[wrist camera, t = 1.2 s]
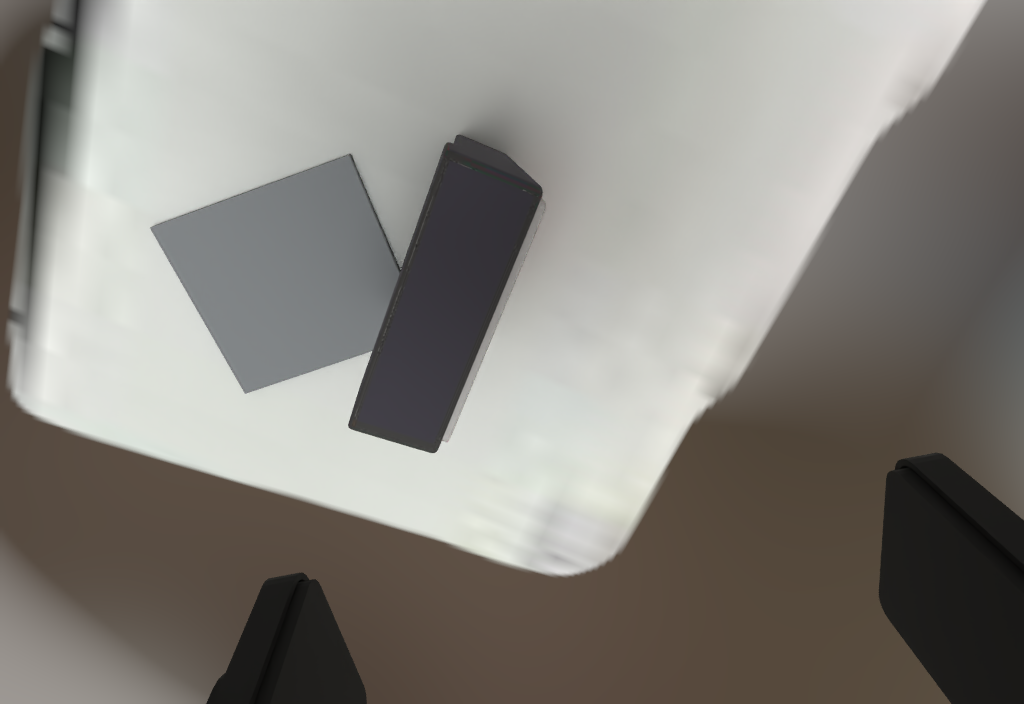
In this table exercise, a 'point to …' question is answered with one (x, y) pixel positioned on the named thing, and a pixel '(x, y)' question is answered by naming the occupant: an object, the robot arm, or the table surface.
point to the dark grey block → (448, 296)
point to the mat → (287, 273)
